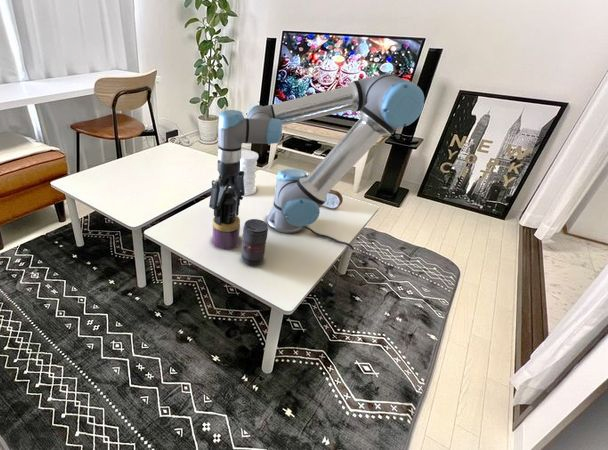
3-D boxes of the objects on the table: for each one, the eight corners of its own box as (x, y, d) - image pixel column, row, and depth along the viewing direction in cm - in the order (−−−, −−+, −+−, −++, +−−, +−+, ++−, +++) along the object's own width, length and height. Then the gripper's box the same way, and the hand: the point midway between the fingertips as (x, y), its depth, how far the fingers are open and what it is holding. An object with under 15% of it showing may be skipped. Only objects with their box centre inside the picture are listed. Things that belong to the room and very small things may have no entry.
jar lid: (242, 219, 128) (242, 215, 127) (236, 234, 120) (236, 229, 119) (217, 215, 130) (217, 211, 129) (209, 229, 122) (209, 224, 121)
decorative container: (230, 194, 161) (232, 158, 151) (233, 183, 171) (235, 149, 161) (255, 196, 160) (258, 160, 150) (256, 185, 169) (259, 150, 159)
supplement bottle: (234, 225, 121) (236, 196, 114) (215, 223, 122) (216, 194, 115) (237, 216, 126) (238, 187, 120) (218, 214, 127) (219, 185, 121)
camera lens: (258, 270, 115) (262, 234, 107) (236, 262, 119) (239, 226, 111) (267, 258, 121) (272, 222, 113) (247, 250, 124) (250, 215, 116)
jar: (241, 236, 132) (243, 216, 127) (235, 251, 124) (236, 230, 119) (216, 232, 135) (217, 212, 130) (209, 246, 127) (209, 226, 122)
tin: (340, 209, 150) (345, 192, 146) (338, 212, 148) (343, 194, 143) (307, 199, 157) (310, 183, 152) (305, 202, 155) (308, 186, 150)
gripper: (241, 149, 120) (238, 205, 132) (197, 165, 107) (198, 225, 120) (258, 154, 115) (253, 212, 128) (214, 172, 103) (213, 234, 115)
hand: (226, 218), depth 124 cm, fingers open, 8 cm apart
